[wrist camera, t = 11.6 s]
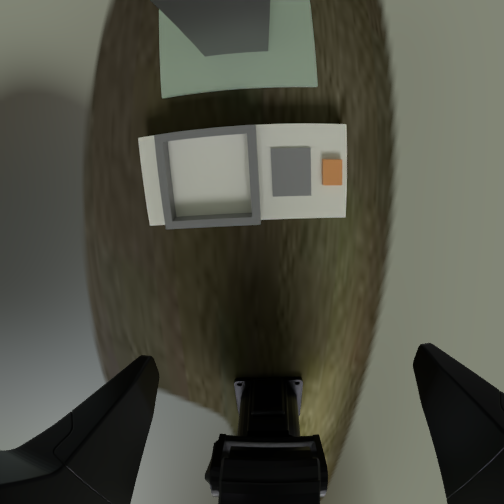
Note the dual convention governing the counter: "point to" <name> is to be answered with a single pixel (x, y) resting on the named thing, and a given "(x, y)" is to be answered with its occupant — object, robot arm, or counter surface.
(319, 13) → the counter surface
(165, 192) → the power strip
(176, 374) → the counter surface
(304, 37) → the rubber mat
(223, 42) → the brick
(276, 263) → the counter surface
